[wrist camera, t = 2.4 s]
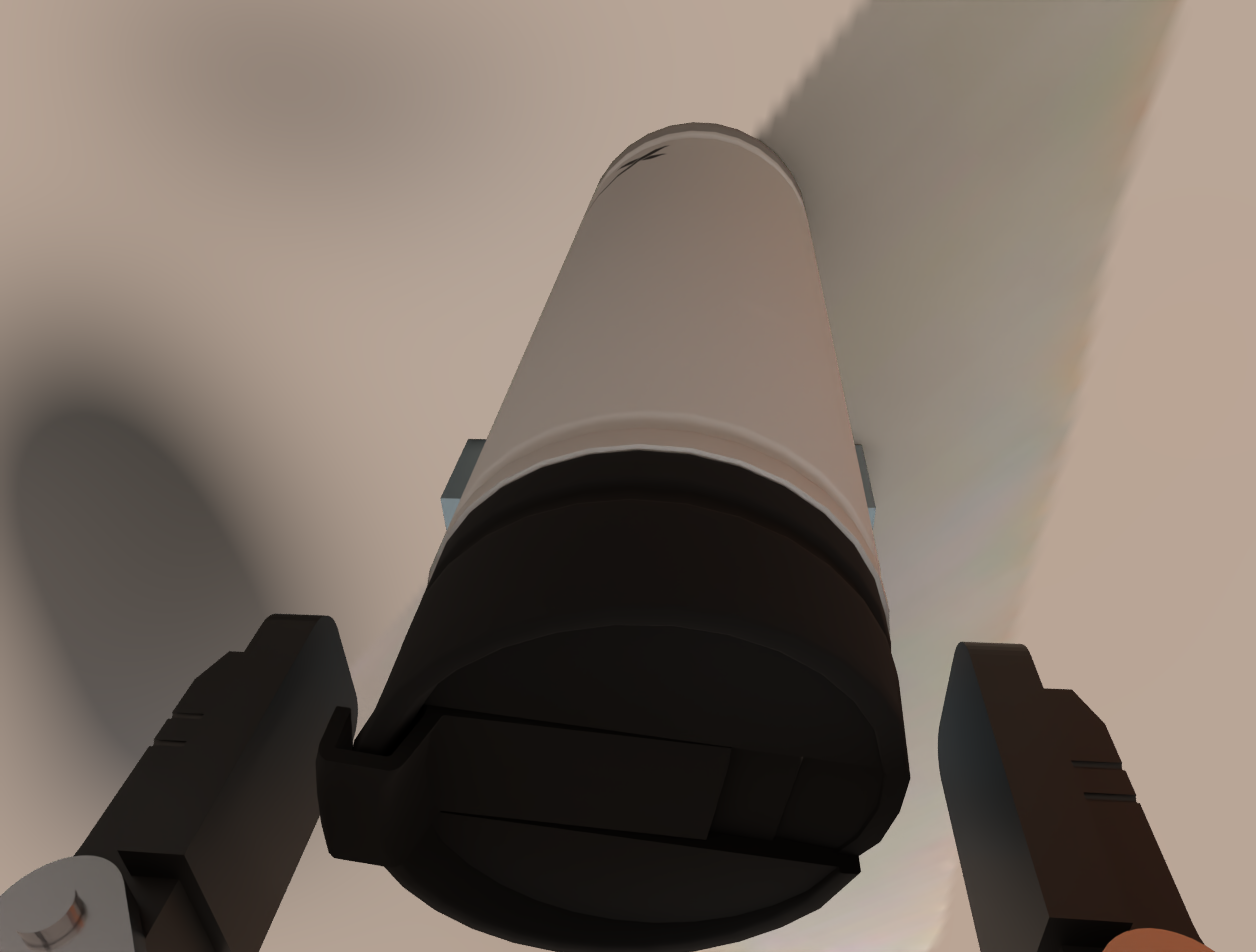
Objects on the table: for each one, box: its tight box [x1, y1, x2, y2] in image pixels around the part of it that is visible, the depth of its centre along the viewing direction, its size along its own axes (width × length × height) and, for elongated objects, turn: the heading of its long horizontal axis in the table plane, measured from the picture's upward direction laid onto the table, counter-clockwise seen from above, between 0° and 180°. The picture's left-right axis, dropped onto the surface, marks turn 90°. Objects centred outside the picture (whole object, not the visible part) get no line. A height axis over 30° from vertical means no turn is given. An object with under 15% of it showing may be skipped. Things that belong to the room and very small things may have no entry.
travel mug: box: [315, 122, 910, 952], centre depth 18 cm, size 6×7×20 cm
